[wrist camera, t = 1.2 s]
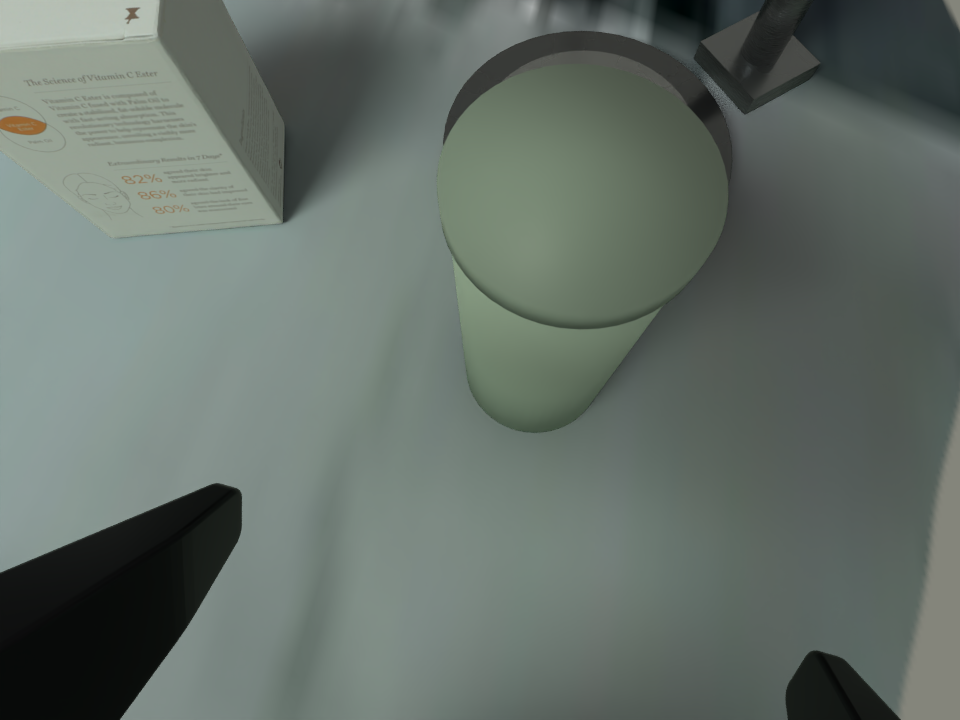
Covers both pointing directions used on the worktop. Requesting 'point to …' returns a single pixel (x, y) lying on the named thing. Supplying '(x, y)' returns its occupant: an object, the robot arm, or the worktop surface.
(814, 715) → the robot arm
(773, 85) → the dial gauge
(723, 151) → the platter
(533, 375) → the canister
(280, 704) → the worktop surface
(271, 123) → the small box
